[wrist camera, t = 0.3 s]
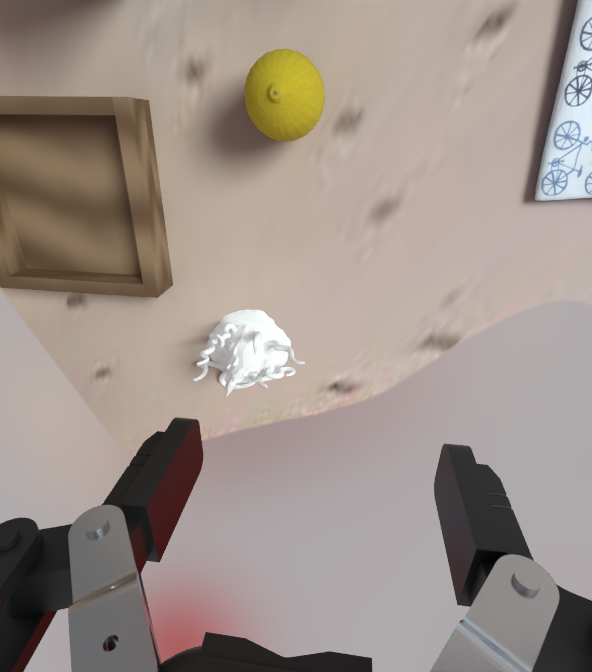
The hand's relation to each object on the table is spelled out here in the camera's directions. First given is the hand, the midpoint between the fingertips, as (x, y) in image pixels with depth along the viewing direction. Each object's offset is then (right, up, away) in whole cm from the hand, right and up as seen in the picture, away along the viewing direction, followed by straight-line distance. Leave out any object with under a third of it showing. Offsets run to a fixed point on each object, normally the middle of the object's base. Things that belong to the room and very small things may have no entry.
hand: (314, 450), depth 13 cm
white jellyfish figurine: (-5, +3, +29) cm, 30 cm away
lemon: (-1, +22, +19) cm, 29 cm away
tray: (-21, +17, +24) cm, 36 cm away
